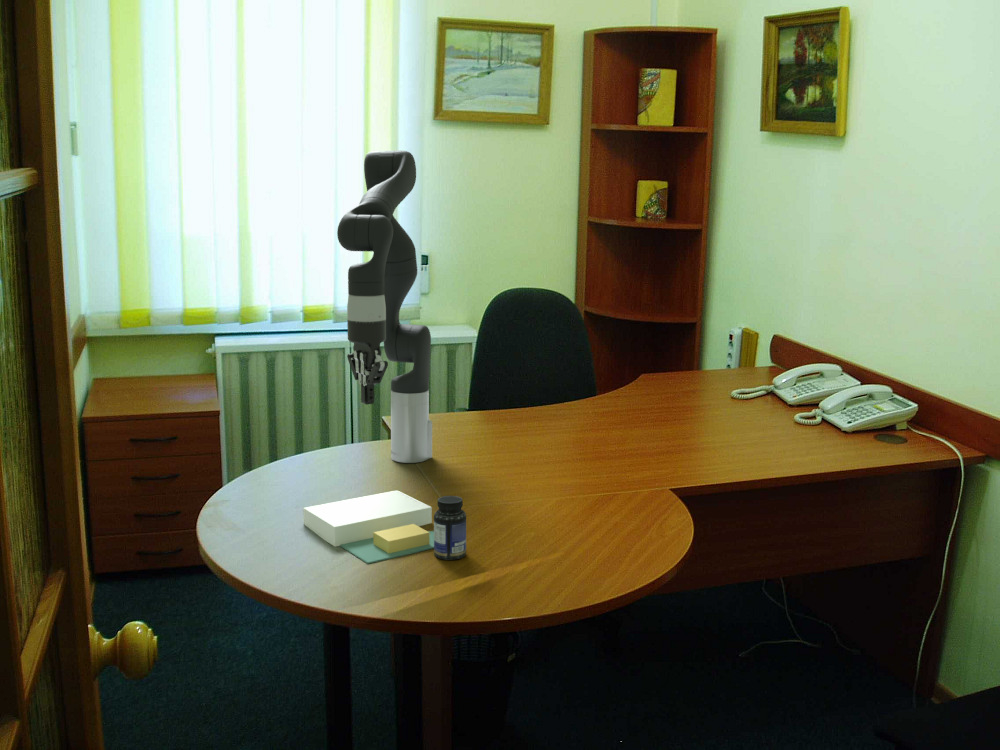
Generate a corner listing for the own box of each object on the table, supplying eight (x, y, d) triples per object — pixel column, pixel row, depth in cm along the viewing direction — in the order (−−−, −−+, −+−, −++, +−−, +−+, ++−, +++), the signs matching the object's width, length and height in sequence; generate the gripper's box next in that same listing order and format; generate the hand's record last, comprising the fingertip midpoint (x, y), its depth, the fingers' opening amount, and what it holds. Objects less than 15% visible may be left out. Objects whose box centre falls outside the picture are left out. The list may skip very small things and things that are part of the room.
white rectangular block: (397, 507, 208) (397, 490, 207) (431, 525, 197) (431, 507, 196) (303, 526, 195) (303, 507, 194) (334, 546, 184) (334, 526, 183)
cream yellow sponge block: (429, 532, 185) (429, 544, 185) (413, 523, 190) (413, 535, 190) (388, 541, 180) (388, 553, 180) (373, 532, 185) (373, 544, 185)
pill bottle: (466, 549, 184) (466, 494, 182) (466, 561, 178) (466, 504, 176) (434, 549, 184) (434, 494, 182) (433, 561, 178) (433, 504, 176)
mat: (428, 527, 196) (428, 525, 196) (458, 542, 187) (458, 541, 187) (340, 546, 184) (340, 544, 184) (367, 563, 176) (367, 562, 176)
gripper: (400, 320, 185) (400, 407, 188) (367, 312, 195) (368, 395, 199) (366, 322, 181) (367, 412, 184) (334, 315, 191) (335, 399, 194)
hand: (367, 403), depth 191 cm, fingers closed
